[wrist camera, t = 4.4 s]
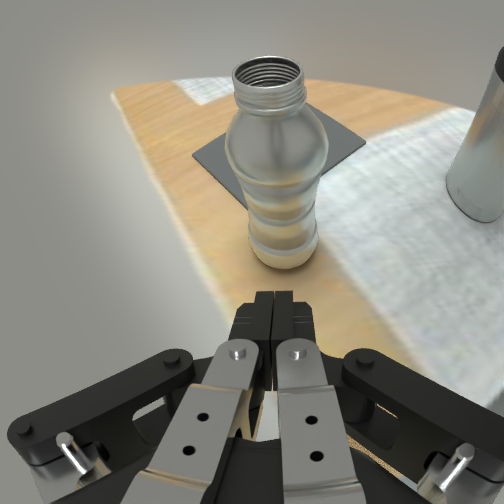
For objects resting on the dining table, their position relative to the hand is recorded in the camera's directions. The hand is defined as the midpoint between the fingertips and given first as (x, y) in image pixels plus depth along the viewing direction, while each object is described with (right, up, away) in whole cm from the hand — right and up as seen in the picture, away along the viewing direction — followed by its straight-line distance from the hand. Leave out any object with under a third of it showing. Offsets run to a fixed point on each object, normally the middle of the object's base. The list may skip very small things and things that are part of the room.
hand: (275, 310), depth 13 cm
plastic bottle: (+2, +3, +19) cm, 19 cm away
